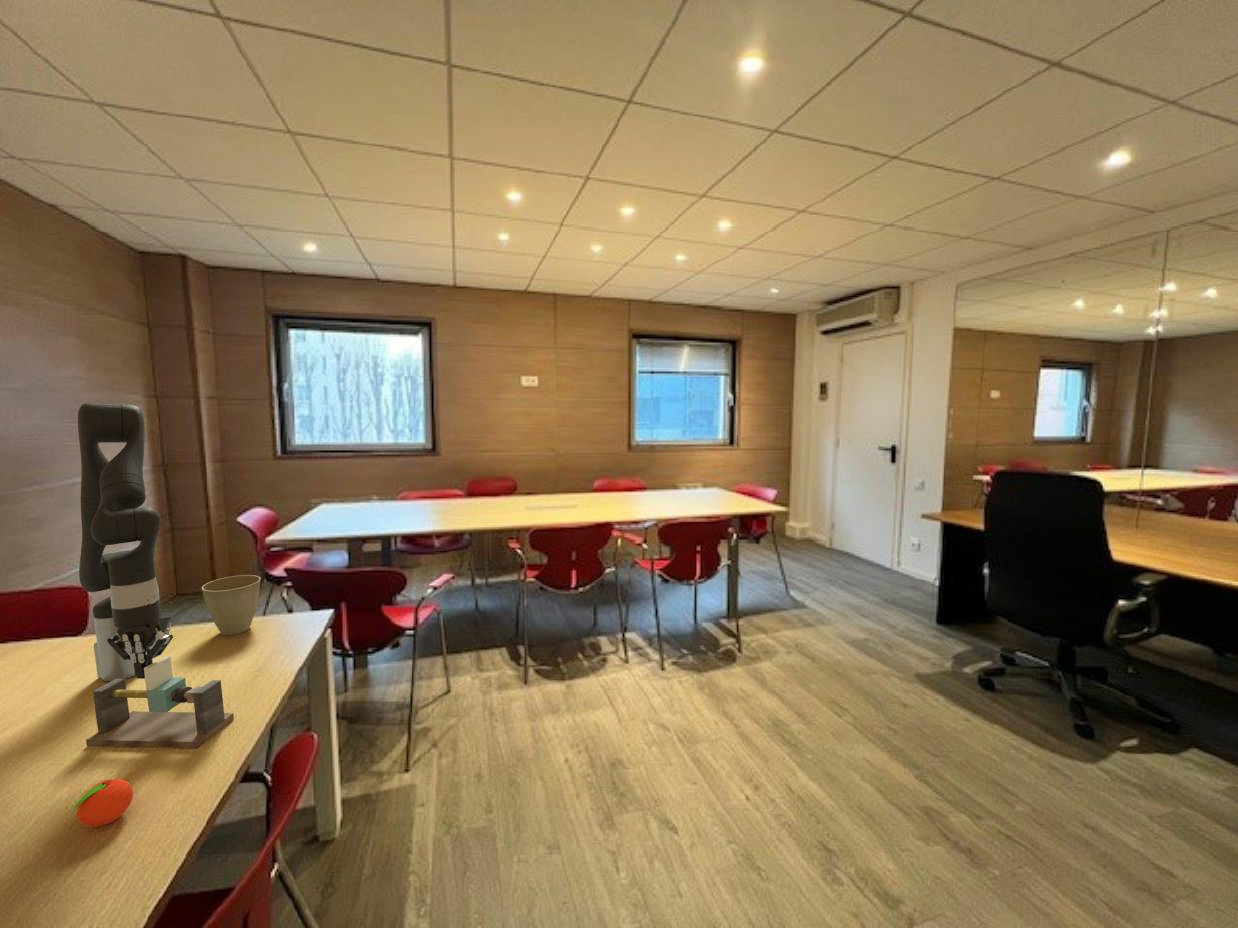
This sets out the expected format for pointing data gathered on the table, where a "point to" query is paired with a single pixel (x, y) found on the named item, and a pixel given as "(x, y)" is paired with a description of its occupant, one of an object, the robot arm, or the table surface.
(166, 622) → the black sponge
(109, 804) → the clementine
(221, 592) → the plant pot
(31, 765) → the table surface
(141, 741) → the horizontal rod stand
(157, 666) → the teal sliding block
